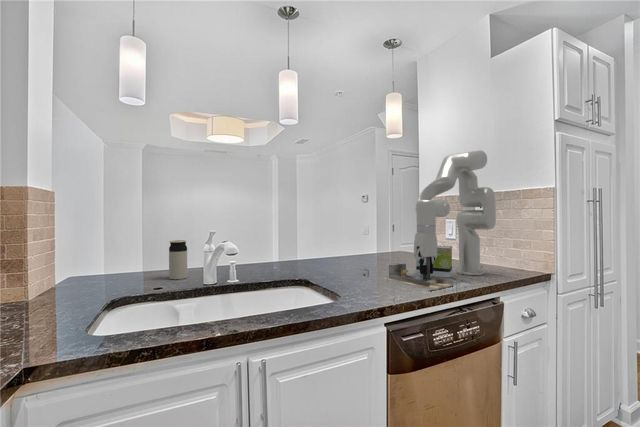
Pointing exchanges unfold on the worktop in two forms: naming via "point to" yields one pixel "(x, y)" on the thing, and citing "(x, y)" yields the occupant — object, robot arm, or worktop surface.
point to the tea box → (441, 262)
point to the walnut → (404, 273)
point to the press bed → (396, 276)
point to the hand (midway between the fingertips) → (426, 273)
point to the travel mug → (178, 259)
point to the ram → (425, 277)
